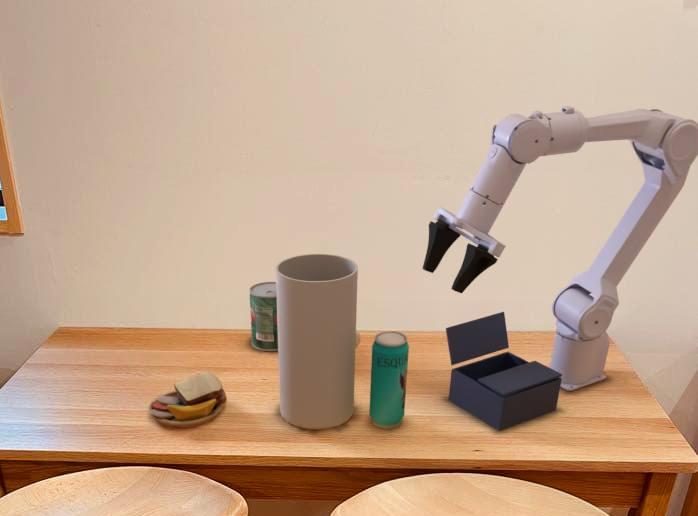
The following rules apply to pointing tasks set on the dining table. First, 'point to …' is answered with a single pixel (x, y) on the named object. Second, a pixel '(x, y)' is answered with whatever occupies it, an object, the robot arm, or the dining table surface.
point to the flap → (477, 338)
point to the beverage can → (388, 379)
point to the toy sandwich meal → (189, 401)
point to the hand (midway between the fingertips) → (441, 280)
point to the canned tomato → (264, 316)
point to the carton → (505, 389)
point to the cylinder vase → (316, 339)
